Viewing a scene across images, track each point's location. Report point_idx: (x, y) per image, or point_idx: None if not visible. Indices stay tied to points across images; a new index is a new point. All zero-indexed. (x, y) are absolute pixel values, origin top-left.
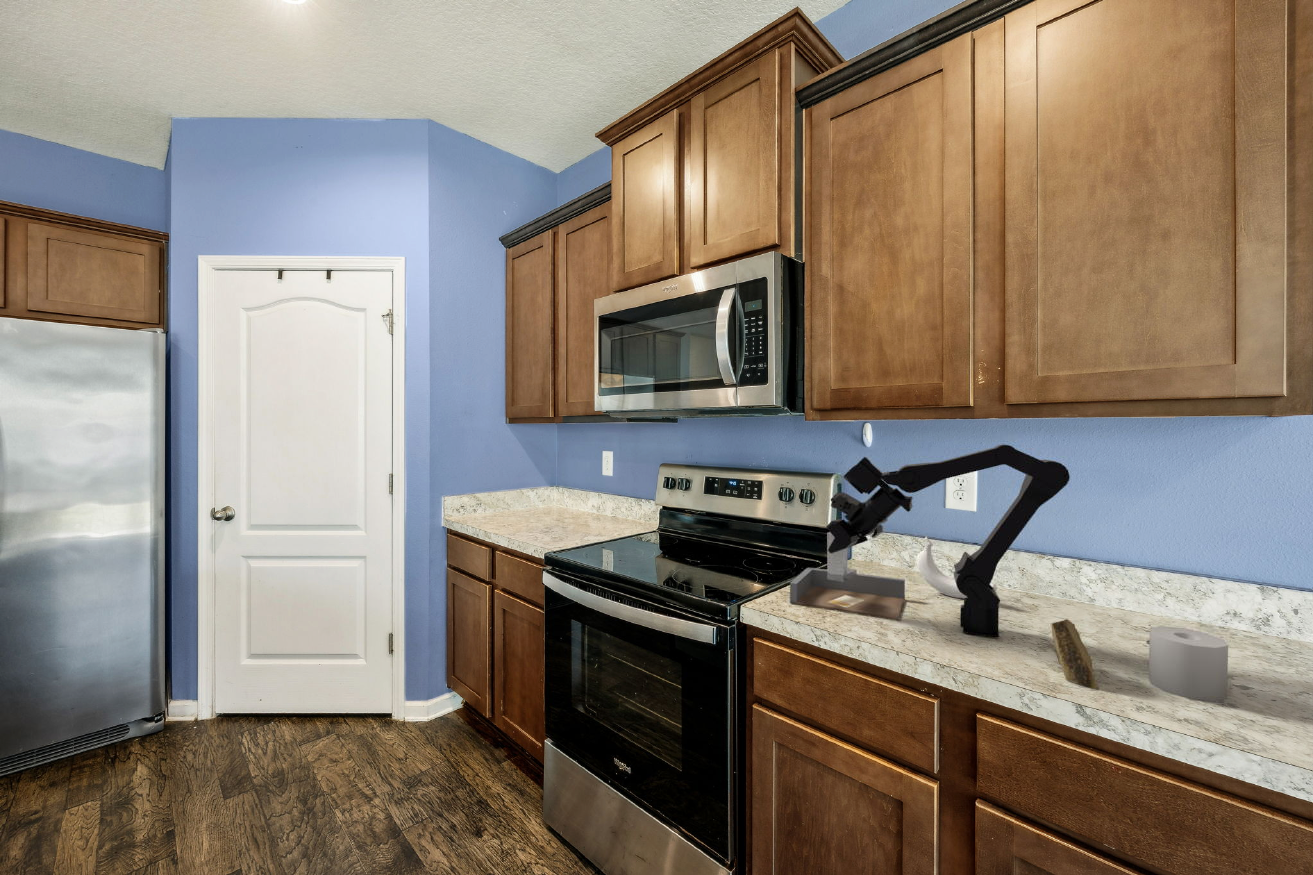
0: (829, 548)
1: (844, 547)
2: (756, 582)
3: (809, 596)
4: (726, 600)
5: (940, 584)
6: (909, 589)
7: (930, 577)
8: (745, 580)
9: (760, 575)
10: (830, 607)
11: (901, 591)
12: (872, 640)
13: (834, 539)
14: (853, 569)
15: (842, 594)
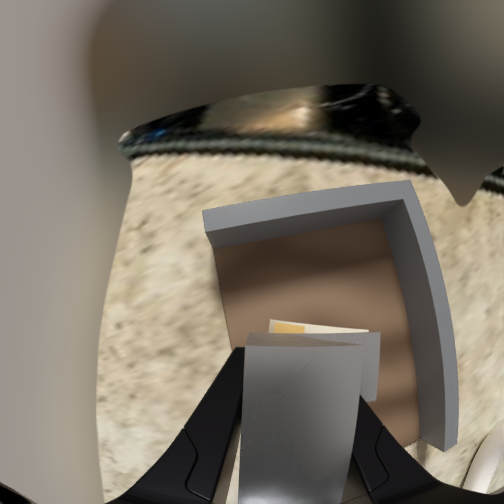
0: (225, 364)
1: (23, 496)
2: (317, 107)
3: (288, 255)
4: (151, 125)
5: (485, 454)
6: (487, 391)
7: (498, 439)
8: (311, 89)
9: (367, 99)
10: (232, 346)
11: (428, 438)
12: (108, 465)
13: (173, 443)
14: (372, 390)
15: (370, 319)
